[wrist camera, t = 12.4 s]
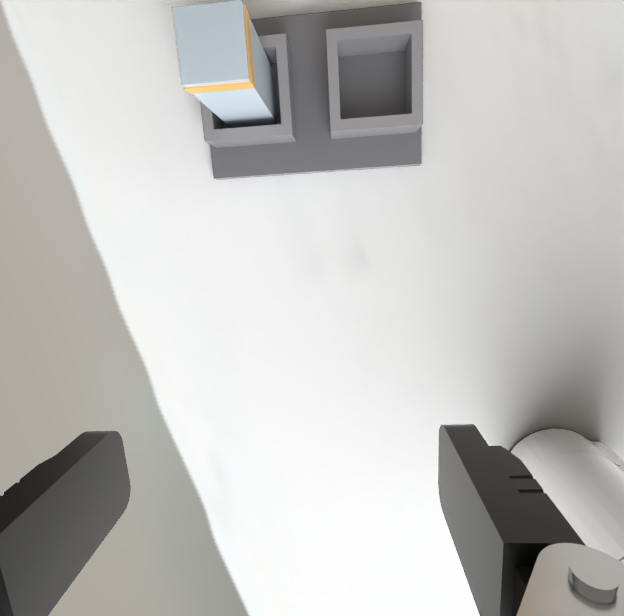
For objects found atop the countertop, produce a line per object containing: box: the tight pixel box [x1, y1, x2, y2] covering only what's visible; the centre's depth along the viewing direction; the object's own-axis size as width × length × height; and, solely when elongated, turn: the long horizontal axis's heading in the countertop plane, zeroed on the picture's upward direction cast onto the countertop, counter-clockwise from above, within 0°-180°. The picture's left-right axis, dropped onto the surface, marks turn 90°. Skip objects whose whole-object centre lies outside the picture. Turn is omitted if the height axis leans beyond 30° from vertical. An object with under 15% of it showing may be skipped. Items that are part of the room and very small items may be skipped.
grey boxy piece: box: [200, 2, 423, 180], centre depth 32 cm, size 18×12×4 cm, turn 94°
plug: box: [172, 0, 277, 128], centre depth 28 cm, size 4×4×11 cm
